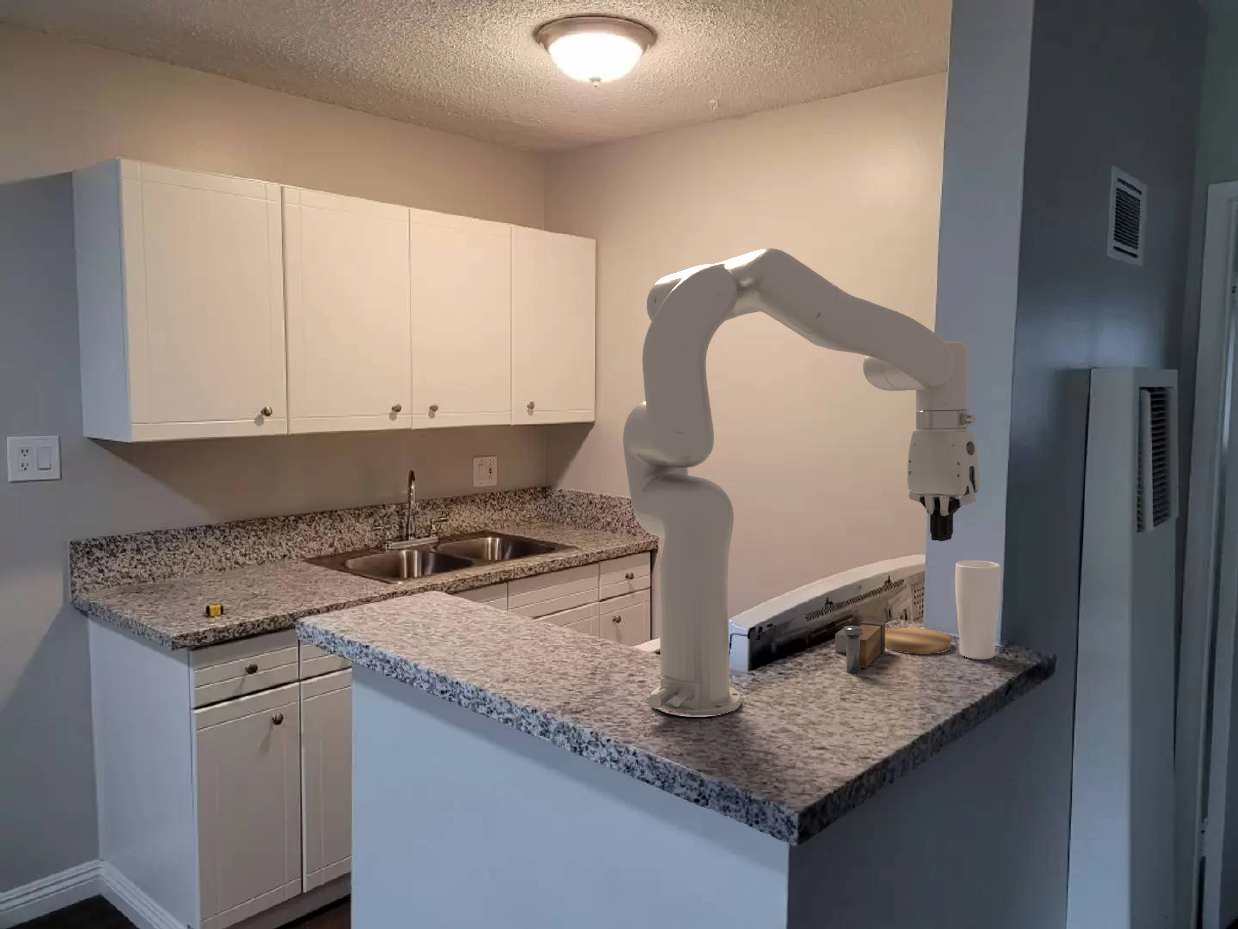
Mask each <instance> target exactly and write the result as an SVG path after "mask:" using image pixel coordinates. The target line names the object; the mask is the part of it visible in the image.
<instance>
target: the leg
mask: <svg viewBox="0 0 1238 929" xmlns="http://www.w3.org/2000/svg"><path fill="white" fill-rule="evenodd" d="M859 627H862V628H863V634H862V635H860V668H864V669H867V668H868V667H869V666H870V665H871V664H872V663H873V662H874V660H876V659H877V658H878V656H879V655H881V653H884V652H885V651H886V647H885V631H886V622H885V621H876V620H868V619H867V620H866V619H864V620H863V621H862V622H861V623H860V626H859Z"/></svg>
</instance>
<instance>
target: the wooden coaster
mask: <svg viewBox="0 0 1238 929" xmlns="http://www.w3.org/2000/svg"><path fill="white" fill-rule="evenodd" d="M950 647H951V648H952V638H951V636H950V635H948V634H947V633H944V632H942V631H940V630H936V629H929V628H919V627H900V628H899V627H898V628H891V629H887V630H885V649H886V648H887V649H889V650H891V651H894V650H896V651H895V652H898V651H901V652H900V653H903V652H906V653H905V654H909V653H916V654H915V655H928V654H927V653H937V652H942V651H945V650H948V649H950ZM950 650H951V649H950ZM907 652H908V653H907ZM917 653H918V654H917ZM921 653H922V654H921ZM924 653H926V654H924Z"/></svg>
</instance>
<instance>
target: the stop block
mask: <svg viewBox="0 0 1238 929" xmlns="http://www.w3.org/2000/svg"><path fill="white" fill-rule="evenodd" d="M834 636H835V637H834V641H835V642H834V644H835V648H834V649H835V651H834V652H835V653H840V654H841V653H842V654H846V634H844V628H841V629H840V630H839V631H837V632H836V633H835V634H834Z"/></svg>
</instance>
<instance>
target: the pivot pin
mask: <svg viewBox="0 0 1238 929" xmlns="http://www.w3.org/2000/svg"><path fill="white" fill-rule="evenodd" d="M843 629H844V634H846V653H845V654H846V660H845V661H846V673H848V674H860V673H861V667H860V635H862V634H863V628H862V627H860V626H859V625H846V626H844V627H843Z"/></svg>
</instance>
